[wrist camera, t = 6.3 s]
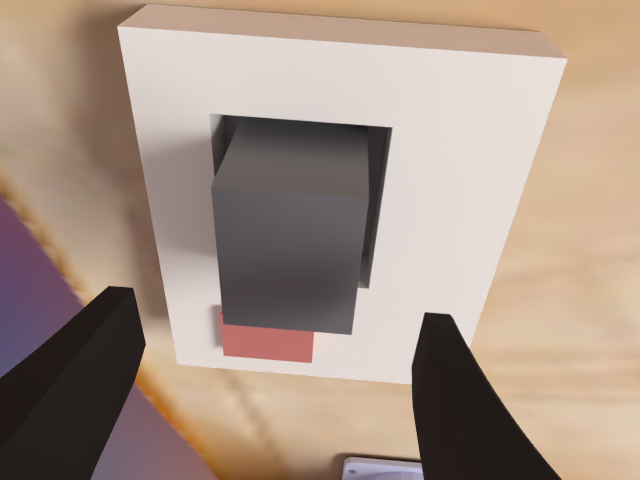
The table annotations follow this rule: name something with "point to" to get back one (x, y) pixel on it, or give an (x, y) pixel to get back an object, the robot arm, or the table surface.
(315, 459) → the table surface
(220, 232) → the plug
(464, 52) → the socket
